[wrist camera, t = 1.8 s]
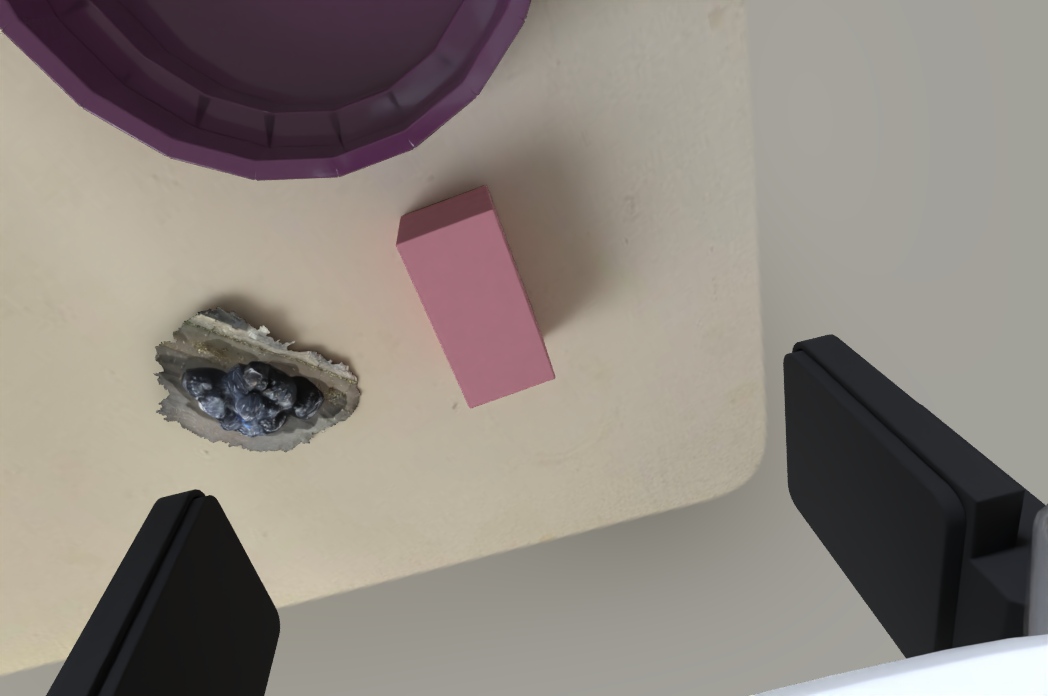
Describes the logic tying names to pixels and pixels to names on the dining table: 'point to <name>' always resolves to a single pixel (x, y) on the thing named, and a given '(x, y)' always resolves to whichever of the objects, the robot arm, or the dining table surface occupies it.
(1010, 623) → the robot arm
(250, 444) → the geode
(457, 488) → the dining table surface
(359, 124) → the bowl
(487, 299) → the eraser
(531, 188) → the dining table surface
